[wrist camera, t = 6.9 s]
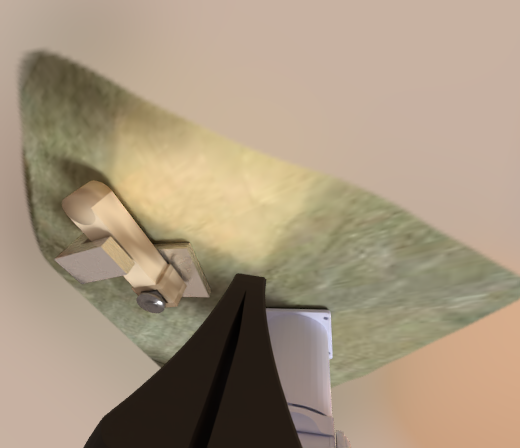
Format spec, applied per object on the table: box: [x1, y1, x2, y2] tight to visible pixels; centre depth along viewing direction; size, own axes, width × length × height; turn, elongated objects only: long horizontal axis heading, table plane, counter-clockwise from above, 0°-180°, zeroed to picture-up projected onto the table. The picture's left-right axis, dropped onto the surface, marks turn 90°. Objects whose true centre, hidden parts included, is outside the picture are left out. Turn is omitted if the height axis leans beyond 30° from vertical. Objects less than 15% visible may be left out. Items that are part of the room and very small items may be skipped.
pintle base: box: [137, 243, 211, 313], centre depth 25 cm, size 7×7×4 cm
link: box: [62, 181, 187, 308], centre depth 23 cm, size 13×3×2 cm, turn 20°
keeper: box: [54, 233, 135, 284], centre depth 22 cm, size 3×5×5 cm, turn 113°
